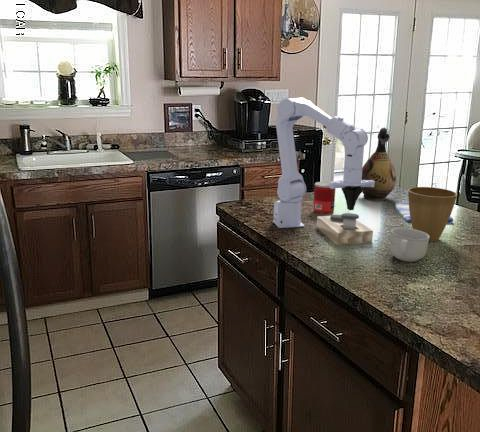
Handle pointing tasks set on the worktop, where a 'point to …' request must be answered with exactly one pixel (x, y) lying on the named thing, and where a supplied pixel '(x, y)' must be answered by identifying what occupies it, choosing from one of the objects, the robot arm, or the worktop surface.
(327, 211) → the canned food
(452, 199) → the plant pot
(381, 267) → the worktop surface
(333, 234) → the knob mount
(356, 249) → the worktop surface
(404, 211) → the dish towel
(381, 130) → the ceramic jug
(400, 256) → the teacup
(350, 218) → the knob front
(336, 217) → the knob rear
